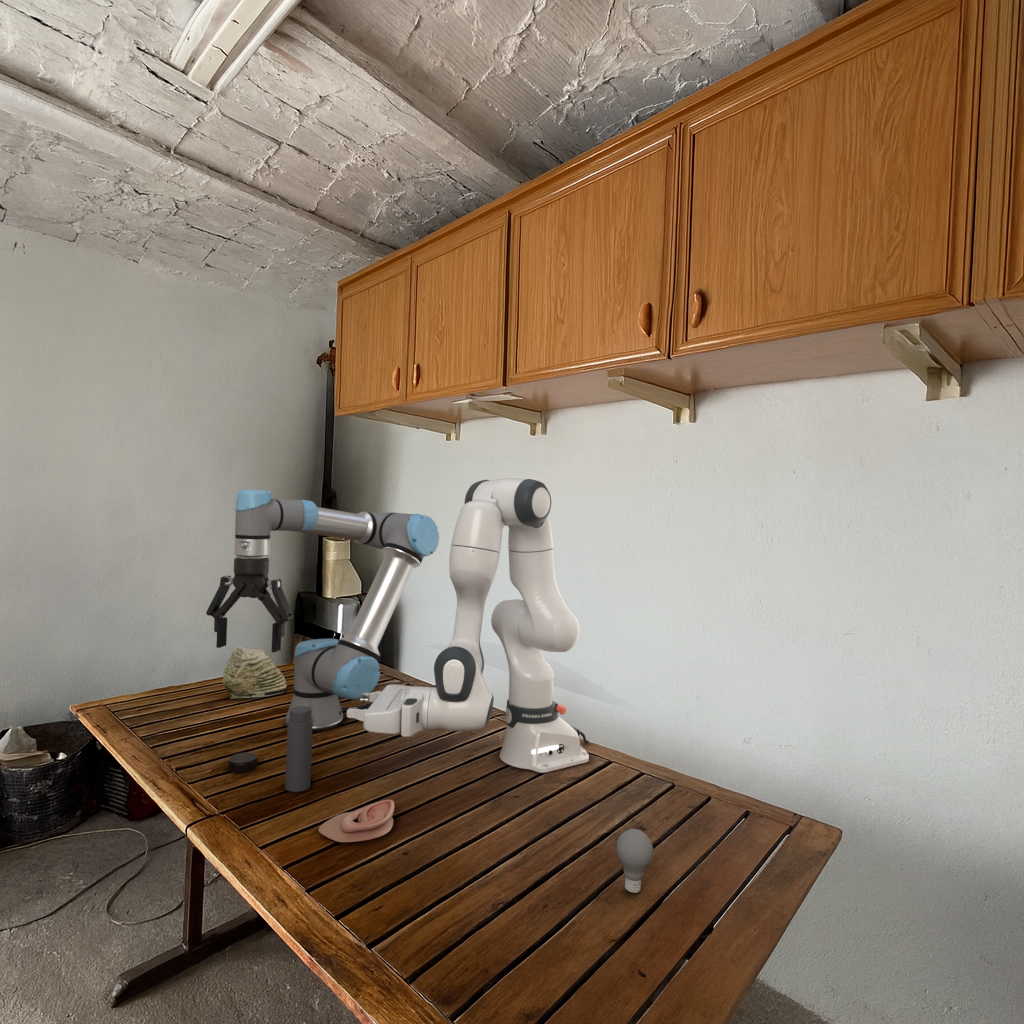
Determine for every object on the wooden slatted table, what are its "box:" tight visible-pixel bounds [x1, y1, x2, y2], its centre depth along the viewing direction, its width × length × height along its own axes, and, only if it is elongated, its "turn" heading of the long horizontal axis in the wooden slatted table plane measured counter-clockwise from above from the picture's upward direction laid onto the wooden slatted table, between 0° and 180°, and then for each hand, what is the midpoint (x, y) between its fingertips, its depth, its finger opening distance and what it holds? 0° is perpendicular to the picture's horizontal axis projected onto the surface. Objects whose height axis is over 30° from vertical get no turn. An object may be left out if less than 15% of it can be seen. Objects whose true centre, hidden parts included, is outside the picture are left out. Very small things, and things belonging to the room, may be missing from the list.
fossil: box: [222, 646, 288, 699], centre depth 198 cm, size 9×18×15 cm, turn 132°
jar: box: [284, 706, 313, 793], centre depth 138 cm, size 5×5×17 cm
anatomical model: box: [317, 799, 395, 843], centre depth 122 cm, size 13×4×12 cm
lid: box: [227, 751, 258, 774], centre depth 146 cm, size 6×6×2 cm
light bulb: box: [615, 828, 654, 894], centre depth 106 cm, size 6×6×10 cm
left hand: (248, 648), depth 146 cm, fingers open, 13 cm apart
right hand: (354, 704), depth 137 cm, fingers open, 8 cm apart
